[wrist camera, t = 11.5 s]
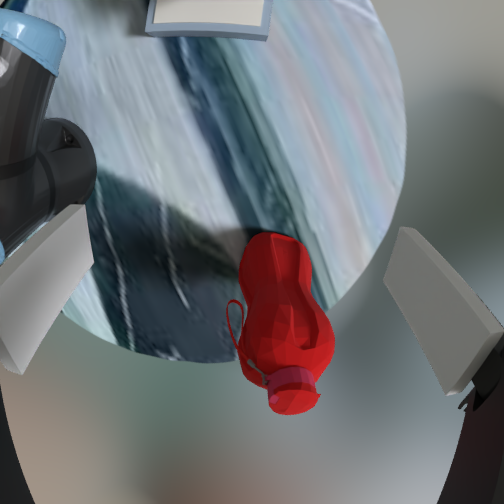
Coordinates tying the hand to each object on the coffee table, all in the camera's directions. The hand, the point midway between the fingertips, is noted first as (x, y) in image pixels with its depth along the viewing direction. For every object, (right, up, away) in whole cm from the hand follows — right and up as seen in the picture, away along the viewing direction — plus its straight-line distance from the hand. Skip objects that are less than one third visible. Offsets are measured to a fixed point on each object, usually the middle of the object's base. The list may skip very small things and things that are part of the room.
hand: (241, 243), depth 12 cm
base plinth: (-4, +32, +15) cm, 35 cm away
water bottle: (+3, -1, +34) cm, 34 cm away
